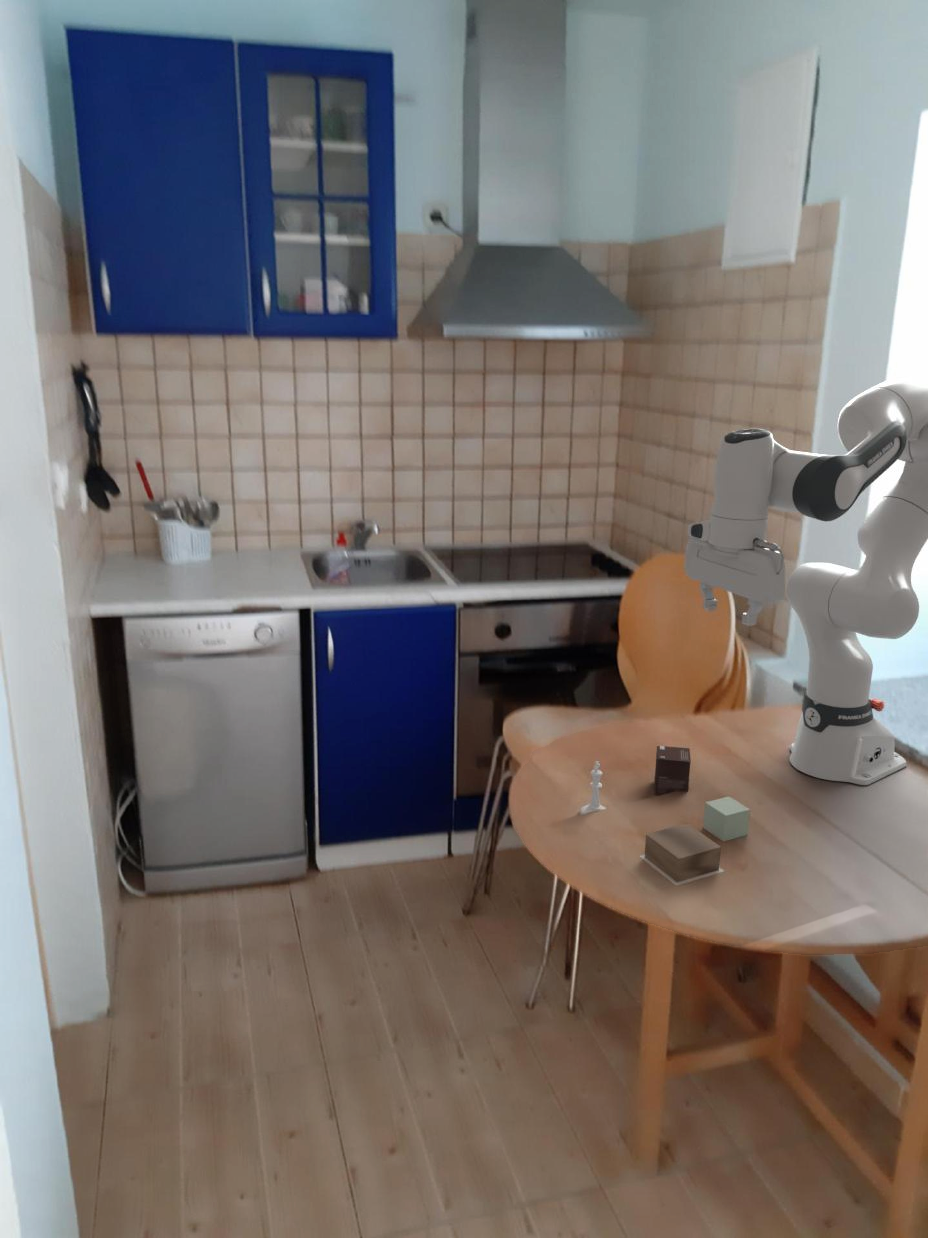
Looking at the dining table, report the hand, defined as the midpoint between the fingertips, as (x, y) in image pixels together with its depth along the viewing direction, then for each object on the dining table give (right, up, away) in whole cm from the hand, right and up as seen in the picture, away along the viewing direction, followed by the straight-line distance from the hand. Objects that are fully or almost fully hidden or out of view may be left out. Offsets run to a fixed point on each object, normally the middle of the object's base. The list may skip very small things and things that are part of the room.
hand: (728, 616), depth 155 cm
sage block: (0, -37, +2) cm, 37 cm away
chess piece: (-21, -34, +10) cm, 41 cm away
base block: (-10, -38, -8) cm, 40 cm away
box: (-5, -32, +19) cm, 38 cm away
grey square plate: (-8, -39, -7) cm, 41 cm away
